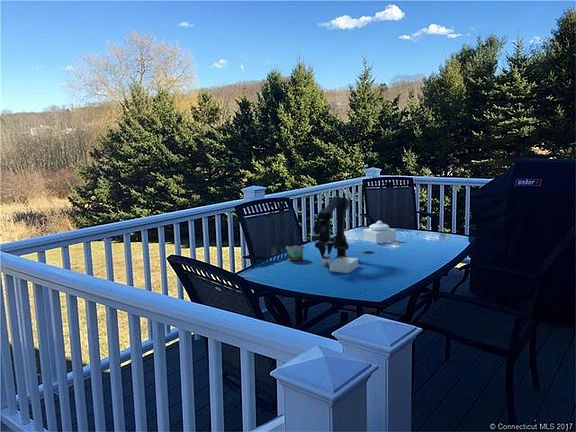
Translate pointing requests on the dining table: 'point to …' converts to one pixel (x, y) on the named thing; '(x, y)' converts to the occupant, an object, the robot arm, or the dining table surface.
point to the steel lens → (326, 260)
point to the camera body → (343, 264)
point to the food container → (295, 253)
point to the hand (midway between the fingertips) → (325, 255)
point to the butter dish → (379, 233)
